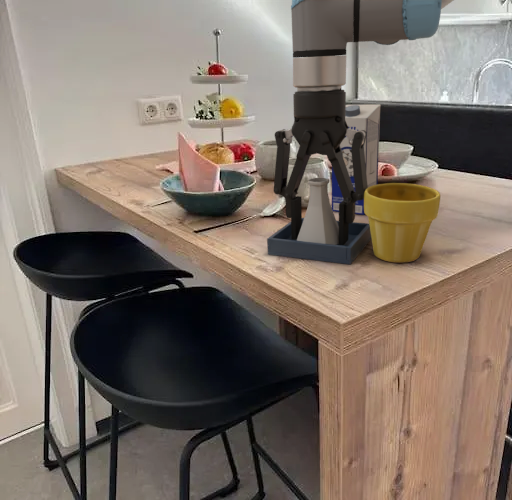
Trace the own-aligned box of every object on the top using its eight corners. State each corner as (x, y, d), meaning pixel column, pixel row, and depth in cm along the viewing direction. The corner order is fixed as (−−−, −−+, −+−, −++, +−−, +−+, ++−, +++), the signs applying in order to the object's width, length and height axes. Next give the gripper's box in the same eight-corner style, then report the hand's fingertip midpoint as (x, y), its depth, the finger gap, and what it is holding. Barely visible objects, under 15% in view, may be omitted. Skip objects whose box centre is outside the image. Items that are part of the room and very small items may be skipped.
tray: (371, 238, 82) (371, 223, 81) (350, 264, 72) (350, 247, 71) (296, 231, 88) (296, 217, 87) (267, 254, 78) (266, 238, 77)
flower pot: (401, 274, 68) (408, 204, 64) (346, 253, 76) (349, 189, 72) (447, 257, 73) (456, 192, 70) (391, 238, 81) (396, 179, 78)
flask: (328, 252, 75) (327, 186, 72) (288, 244, 79) (285, 182, 76) (350, 238, 80) (351, 176, 77) (312, 232, 85) (310, 173, 81)
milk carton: (377, 206, 100) (381, 103, 93) (364, 215, 95) (367, 106, 88) (345, 203, 104) (346, 103, 97) (330, 211, 99) (330, 106, 92)
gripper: (395, 85, 71) (388, 239, 78) (267, 89, 79) (272, 227, 87) (383, 88, 64) (376, 254, 72) (245, 92, 73) (252, 240, 81)
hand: (319, 239), depth 80 cm, fingers closed on flask, 7 cm apart
